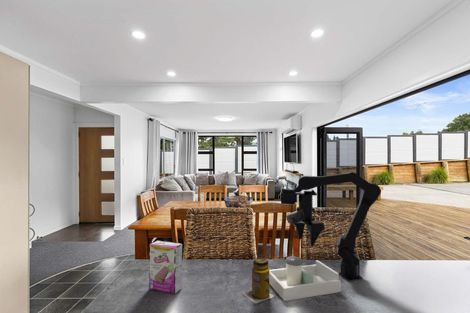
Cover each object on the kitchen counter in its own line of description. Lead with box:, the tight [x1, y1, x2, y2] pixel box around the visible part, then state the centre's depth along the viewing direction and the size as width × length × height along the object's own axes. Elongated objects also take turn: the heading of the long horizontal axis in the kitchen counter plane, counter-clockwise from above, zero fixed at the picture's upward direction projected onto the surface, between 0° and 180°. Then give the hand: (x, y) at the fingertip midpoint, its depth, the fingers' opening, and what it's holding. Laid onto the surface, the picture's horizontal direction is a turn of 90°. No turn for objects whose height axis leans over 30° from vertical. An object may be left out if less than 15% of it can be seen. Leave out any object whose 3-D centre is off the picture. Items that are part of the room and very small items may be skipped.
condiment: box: [242, 257, 275, 304], centre depth 88 cm, size 7×8×12 cm
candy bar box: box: [148, 240, 183, 295], centre depth 92 cm, size 11×5×16 cm, turn 71°
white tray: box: [269, 260, 342, 302], centre depth 94 cm, size 22×15×6 cm
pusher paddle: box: [302, 268, 313, 284], centre depth 95 cm, size 3×12×5 cm, turn 15°
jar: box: [285, 255, 303, 286], centre depth 93 cm, size 6×6×9 cm
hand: (305, 242), depth 108 cm, fingers open, 9 cm apart
